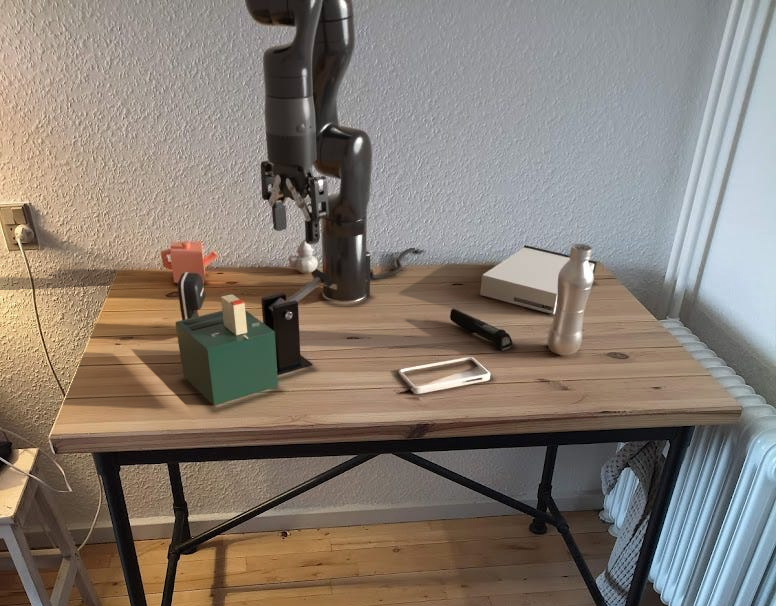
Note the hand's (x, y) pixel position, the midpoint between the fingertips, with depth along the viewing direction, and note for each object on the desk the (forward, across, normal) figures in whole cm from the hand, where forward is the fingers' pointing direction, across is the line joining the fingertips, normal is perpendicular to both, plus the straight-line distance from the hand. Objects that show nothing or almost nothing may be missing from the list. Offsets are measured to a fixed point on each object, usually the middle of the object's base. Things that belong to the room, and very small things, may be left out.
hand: (296, 236), depth 126 cm
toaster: (+23, +1, +14) cm, 27 cm away
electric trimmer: (+24, -13, -34) cm, 43 cm away
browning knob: (+12, -1, +14) cm, 18 cm away
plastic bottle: (+24, -28, -41) cm, 55 cm away
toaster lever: (+11, +1, -1) cm, 12 cm away
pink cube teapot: (+24, +47, -6) cm, 53 cm away
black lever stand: (+23, +1, +4) cm, 23 cm away
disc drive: (+24, -5, -62) cm, 67 cm away
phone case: (+23, -21, -16) cm, 35 cm away
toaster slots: (+12, +5, +14) cm, 19 cm away
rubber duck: (+24, +35, -28) cm, 51 cm away
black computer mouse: (+23, +23, +8) cm, 34 cm away
